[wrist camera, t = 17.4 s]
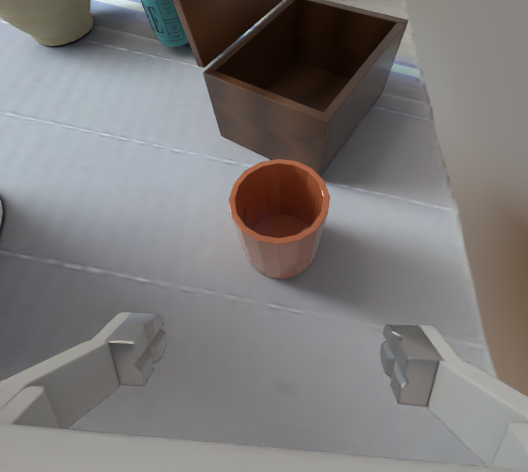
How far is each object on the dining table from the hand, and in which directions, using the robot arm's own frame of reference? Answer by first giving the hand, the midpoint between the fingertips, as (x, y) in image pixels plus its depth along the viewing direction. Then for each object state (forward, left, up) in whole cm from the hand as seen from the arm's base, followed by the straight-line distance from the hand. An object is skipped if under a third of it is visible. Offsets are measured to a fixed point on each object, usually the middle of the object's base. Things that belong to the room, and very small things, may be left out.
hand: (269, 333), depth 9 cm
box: (+23, +11, -11) cm, 28 cm away
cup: (+7, +4, -11) cm, 14 cm away
